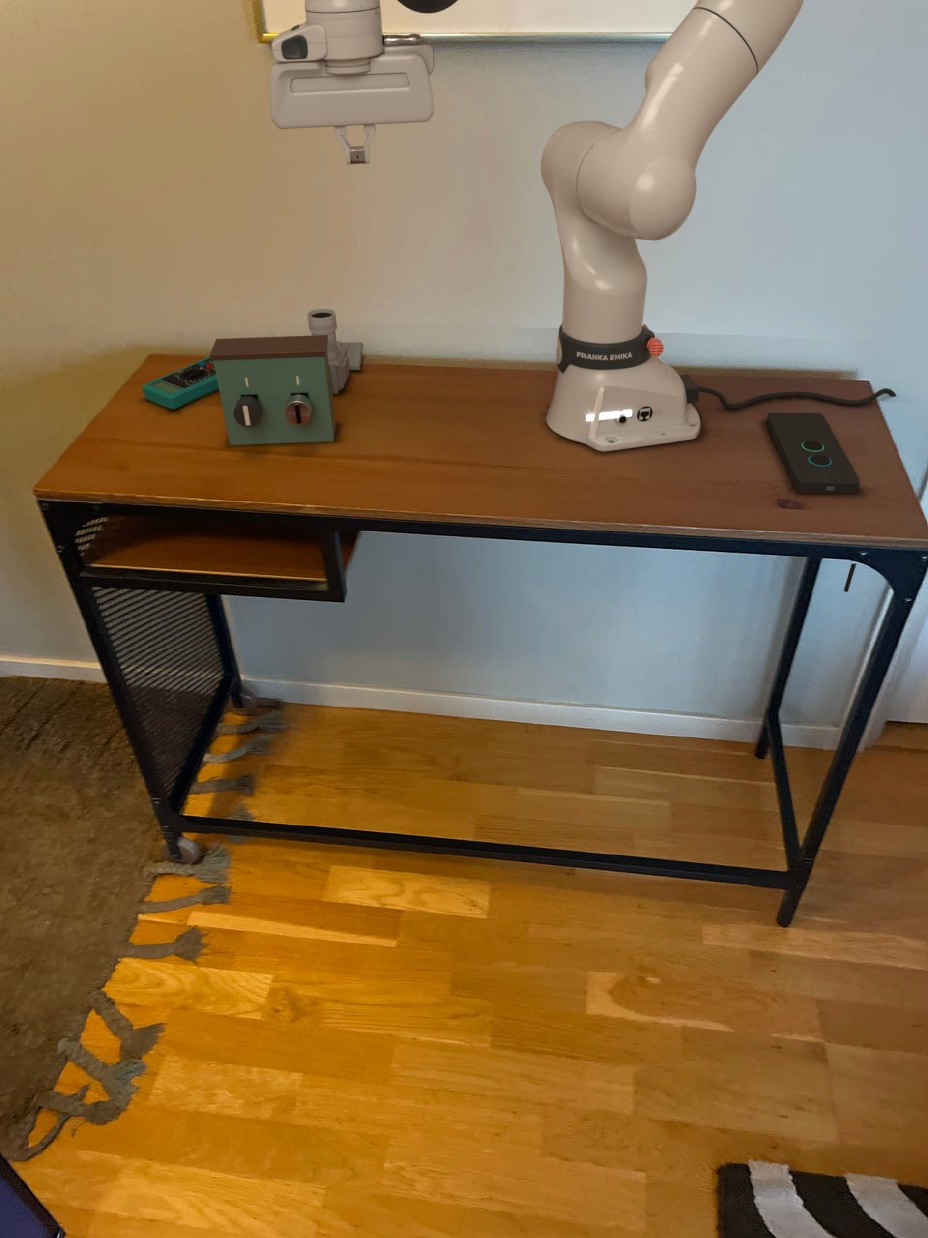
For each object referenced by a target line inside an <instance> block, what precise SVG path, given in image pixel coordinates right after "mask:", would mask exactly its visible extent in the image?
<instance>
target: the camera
mask: <svg viewBox="0 0 928 1238" xmlns="http://www.w3.org/2000/svg"><path fill="white" fill-rule="evenodd" d="M306 315H307V322H308V331H309V332H310V333H311V336H313V335H328V346H327V352H328V361H329V370H330V378H331V387H332V395H337V394H339V391H342V390H343V389H344V387H345V385H346V384H347V381H348V378H349V375H350V371H360V370H361V365H362V357H363V349H364V343H363V342H362V341H361V342H359V341H358V342H355V341H354V342H353V341H352V342H349V341H348V342H347V341H346V342H342V341H340V340H337V333H336V332H337V331H336V330H337V329H338V324H337V316H336V315H337V314H336V311H335V310H334V309H331V308H316V309H312V310H310V311H309V312H307V314H306Z"/></svg>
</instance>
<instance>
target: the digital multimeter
mask: <svg viewBox="0 0 928 1238" xmlns="http://www.w3.org/2000/svg"><path fill="white" fill-rule="evenodd" d="M142 391H143V395H144V398H145V399H146V400H148V401H150V402H152V403H155V404H156V405H159V406H162V407H165V408H166V409H170V410H172V411H175V410H178V409H180V408H182V407H185V406H187V405H189V404H191V403H194V402H196V401H198V400H200V399H202V398H204V397H206V396H208V395H211V394H213V393H216V392H217V391H219V386H218V381H217V376H216V371H215V366H214V361H213V360H210V355H208V356H207V357H205V358H202V359H200V360H199V361H196V362H194V363H192V364H189V365H187V366H185V367H183V368H180V369H178V370H176V371H174V372H170V373H168V374H166V375H163V376H161V377H158V378H156V379H154V380H151V381H148V382H146V383H145V384H144V385H143V386H142Z"/></svg>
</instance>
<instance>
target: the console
mask: <svg viewBox="0 0 928 1238" xmlns="http://www.w3.org/2000/svg"><path fill="white" fill-rule="evenodd" d="M327 346H328V335H313V336H312V335H289V336H261V337H259V336H258V337H233V338H231V337H228V338H227V337H226V338H215V341H214V343H213V346H212V348H211V350H210V353H209V356H210V360H213V361H214V366H215V371H216V376H217V381H218V386H219V390H218V391H219V396H220V402H221V406H222V410H223V416H224V421H225V426H226V431H227V436H228V440H229V446H242V445H244V446H245V445H246V446H247V445H269V444H271V445H272V444H292V443H293V444H294V443H296V444H297V443H320V442H321V443H323V442H334V441H335V435H336V427H337V422H336V414H335V405H334V396H333V393H332V387H331V378H330V370H329V361H328V352H327ZM299 393H303V394H305V396H306V397H307V398H308V399H309V400H310V401H311V403H312V414H311V418H310V420H309V421H308V422H307V423H306V424H303V425H295V424H292V423H291V422H289V421H288V419H287V418H286V416H285V408H286V403H287V401H288V399H289V398H290V397H291V396H293V395H298V394H299ZM249 395H254V396H255V397H256V399H257V400H258V401H259V403H260V404H261V406H262V413H261V417H260V420H259V422H258V423H257V424H256V425H255V426H253V427H244V426H242V425H240V424H238V423H237V422H236V420H235V418H234V414H233V413H234V409H235V406H236V403H237V401H238V400H239V399H240V398H242V397H245V396H249Z"/></svg>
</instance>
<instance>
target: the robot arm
mask: <svg viewBox="0 0 928 1238" xmlns="http://www.w3.org/2000/svg"><path fill="white" fill-rule="evenodd" d="M397 1H398V3H400V4H401V6H404V7H405V8H407V9H408V10H410V11H411V12H415V13H419V14H425V15H426V14H437V13H440V12H443V11H445V10H447V9H448V8H450V7H452V6H453V5H455V4H456V3H457V2H458V1H459V0H397ZM804 1H805V0H698V1H697V2H696V4H695V5H693V7H692V8H691V10H690V11H689V12H688V14H686V16H685V17H684V18H683V20H682V21H681V22H680V23H679V24H678V26H676V28H675V29H674V31H673V32H672V33H671V34H670V36H669V37H668V38H667V40H666V41H665V42H664V44H663V45H662V46H661V47H660V48H659V50H658V51H657V52H656V54H655V55H654V56H653V58H651V60H649V63H648V64H647V67H646V69H645V71H644V78H643V79H644V80H643V82H644V84H643V85H644V90H645V93H644V95H643V99H642V101H641V103H640V105H639V107H638V109H637V111H636V114H635V115H634V116H633V118H632V119H631V121H630V122H629V123H627V125H626V126H624V127H623V128H621V127H618V126H616V125H612V124H609V123H606V122H604V121H601V120H579V121H572V122H568V123H565V124H563V125H562V126H560V127H558V129H556V130H555V131H554V132H553V133H552V134H551V135H550V137H549V138H548V140H547V142H546V143H545V145H544V147H543V150H542V154H541V158H540V175H541V179H542V182H543V184H544V186H545V188H546V190H547V192H548V195H549V197H550V200H551V203H552V206H553V210H554V216H555V222H556V226H557V232H558V233H557V234H558V238H559V244H560V249H561V250H560V251H561V258H562V265H563V267H562V268H563V297H562V298H563V300H562V301H563V302H562V322H561V324H560V325H559V327H558V335H557V338H556V339H557V340H556V357H555V358H556V359H555V361H556V366H557V375H556V379H555V385H554V390H553V394H552V398H551V401H550V404H549V408H548V411H547V413H546V416H545V422H546V424H547V426H548V427H549V429H550V430H551V431H552V432H554V433H555V434H557V435H559V436H560V437H563V438H565V439H568V440H570V441H575V442H578V443H582V444H585V445H587V446H588V447H590V448H592V449H594V450H596V451H599V452H611V451H613V452H614V451H620V450H626V449H633V448H640V447H648V446H655V445H663V444H670V443H676V442H684V441H691V440H695V439H696V438H697V437H698V436H699V435H700V432H701V419H700V415H699V413H698V411H697V409H696V407H694V405H693V404H698V403H699V396H700V393H706V394H710V395H713V396H714V397H716V398H717V399H718V400H719V401H720V403H721V405H722V406H723V407H724V408H725V409H728V410H731V411H735V410H740V409H743V408H747V407H749V406H751V405H753V404H755V403H758V402H761V401H767V400H772V399H780V398H781V399H782V398H794V397H795V398H798V397H799V398H811V399H816V400H817V399H818V400H822V401H825V402H829V403H833V404H838V405H844V406H862V405H866V404H868V403H870V402H872V401H874V400H875V399H877V398H879V397H881V396H882V395H885V394H887V395H888V396H889V397H891V398H894V397H897V395H896V392H895V391H894V390H893V389H891V388H887V387H885V388H881V389H879V390H878V391H876V392H875V393H873V394H871V395H869V396H868V397H865V398H862V399H853V400H852V399H845V398H840V397H835V396H831V395H826V394H823V393H818V392H812V391H782V392H781V391H780V392H773V393H766V394H760V395H757V396H755V397H752V398H750V399H747V400H746V401H744V402H741V403H738V404H732V403H729V402H728V401H727V399H726V398H725V395H723V393H722V392H720V391H718V390H716V389H714V388H712V387H711V388H710V387H706V386H702V385H701V386H700V385H698V384H697V383H696V381H695V380H694V379H693V378H692V377H691V376H690V375H689V374H686V373H685V374H679V373H678V372H677V371H676V370H675V369H674V368H673V367H672V366H670V365H669V364H668V363H666V362H665V361H664V360H662V359H661V358H660V356H661V355H662V354H663V353H664V350H665V348H664V347H665V346H664V344H663V343H662V341H661V339H659V338H658V337H656V335H655V333H654V331H652V330H651V329H649V327H648V326H647V324H646V323H643V322H644V312H645V303H646V296H647V295H646V294H647V288H648V287H647V285H648V272H647V267H646V265H645V262H644V260H643V259H642V256H641V254H640V252H639V248H638V245H637V241H636V240H640V241H641V240H642V241H643V240H644V241H660V240H664V239H666V238H668V237H670V236H672V235H673V234H675V233H676V232H677V231H678V230H679V229H680V228H681V227H682V226H683V225H684V224H685V223H686V221H687V219H688V218H689V216H690V214H691V212H692V211H693V208H694V204H695V202H696V198H697V197H696V196H697V177H696V171H697V166H698V164H699V160H700V157H701V155H702V153H703V150H704V149H705V147H706V144H707V142H708V141H709V139H710V137H711V135H712V133H713V132H714V131H715V129H716V127H717V126H718V125H719V124H720V122H721V121H722V119H723V118H724V117H725V115H726V114H727V113H728V112H729V110H730V109H731V108H732V107H733V106H734V104H735V103H736V102H737V100H738V99H739V98H740V97H741V96H742V94H743V93H744V92H745V90H746V89H747V88H748V87H749V86H750V84H751V83H752V82H753V81H754V79H755V78H756V77H757V76H758V75H759V73H761V71H762V70H763V69H764V67H765V65H767V63H768V61H769V60H770V59H771V57H772V56H773V55H774V54H775V52H776V50H777V49H778V47H780V44H782V41H783V40H784V38H785V37H786V36H787V34H788V33H789V31H790V29H791V27H792V25H793V24H794V22H795V20H796V18H797V17H798V15H799V13H800V11H801V9H802V7H803V5H804ZM304 12H305V22H302V23H299V24H296V25H294V26H292V27H291V28H288V29H287V30H284V31H282V32H280V33H278V34H277V35H276V36H275V37H274V38H273V40H272V41H271V52H272V56H273V57H272V58H273V59H274V60H275V63H274V64H273V66H272V68H271V71H270V74H269V81H268V84H269V85H268V93H269V95H268V97H269V110H270V118H271V121H272V123H273V124H274V125H275V127H276V128H278V129H279V130H290V129H311V128H312V129H313V128H327V127H328V128H329V127H330V128H332V127H333V131H334V137H335V138H336V140H337V141H338V143H339V145H340V146H341V148H342V149H343V150H344V151H345V159H346V160H345V161H346V165H365V164H366V165H367V164H369V165H370V163H371V159H370V147H371V145H372V143H373V140H374V138H375V136H376V133H377V130H376V125H388V124H389V125H392V124H408V123H409V124H410V123H412V124H413V123H427V122H429V121H430V120H431V119H432V118H433V116H434V114H435V106H434V96H433V95H434V94H433V89H432V82H431V77H430V76H431V75H432V74H433V72H434V70H435V51H434V50H435V49H434V47H433V45H432V43H431V42H430V41H429V39H427V38H426V37H422V36H421V34H419V33H409V34H383V23H382V22H383V21H382V8H381V0H304ZM349 126H350V127H353V126H363V133H364V135H367V136H366V138H365V141H364V142H363V145H355V146H354V145H353V146H352V145H351V144H350V142H349V140H348V139H347V137H346V135H347V131H348V130H347V129H348V128H347V127H349ZM856 566H857V563H856V562H855V563H851V565H850V568H849V571H848V573H847V578H846V581H845V584H844V588H843V592H845V593H849V590H850V586H851V583H852V579H853V576H854V573H855V571H856Z"/></svg>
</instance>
